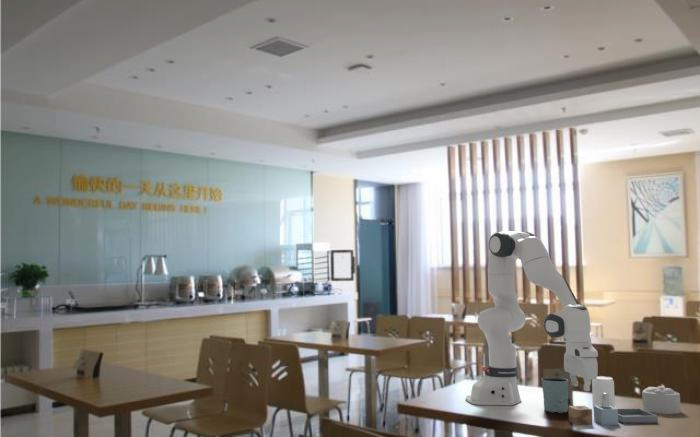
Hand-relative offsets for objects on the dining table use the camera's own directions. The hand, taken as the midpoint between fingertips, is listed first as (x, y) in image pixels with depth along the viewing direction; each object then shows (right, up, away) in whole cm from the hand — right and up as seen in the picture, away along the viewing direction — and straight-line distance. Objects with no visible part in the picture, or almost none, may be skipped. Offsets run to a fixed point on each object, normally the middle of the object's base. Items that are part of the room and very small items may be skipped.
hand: (580, 388), depth 225 cm
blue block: (+9, -13, 0) cm, 16 cm away
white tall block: (+17, -14, +22) cm, 31 cm away
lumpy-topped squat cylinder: (+38, -14, +18) cm, 45 cm away
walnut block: (0, -12, -1) cm, 12 cm away
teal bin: (-3, -14, +19) cm, 24 cm away
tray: (+20, -13, +4) cm, 24 cm away
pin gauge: (+9, -11, 0) cm, 14 cm away
